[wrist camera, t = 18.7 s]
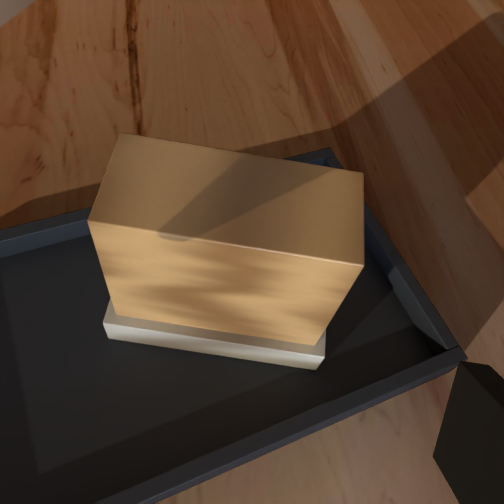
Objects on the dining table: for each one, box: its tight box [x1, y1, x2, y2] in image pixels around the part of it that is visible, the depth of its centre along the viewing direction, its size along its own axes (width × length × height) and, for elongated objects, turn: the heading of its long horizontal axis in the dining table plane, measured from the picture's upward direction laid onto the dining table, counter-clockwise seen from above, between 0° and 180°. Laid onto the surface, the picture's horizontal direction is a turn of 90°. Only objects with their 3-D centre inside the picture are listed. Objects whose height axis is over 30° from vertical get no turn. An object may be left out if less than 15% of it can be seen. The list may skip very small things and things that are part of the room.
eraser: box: [88, 133, 365, 370], centre depth 23 cm, size 11×6×10 cm, turn 83°
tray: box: [0, 147, 468, 504], centre depth 26 cm, size 16×28×2 cm, turn 113°
